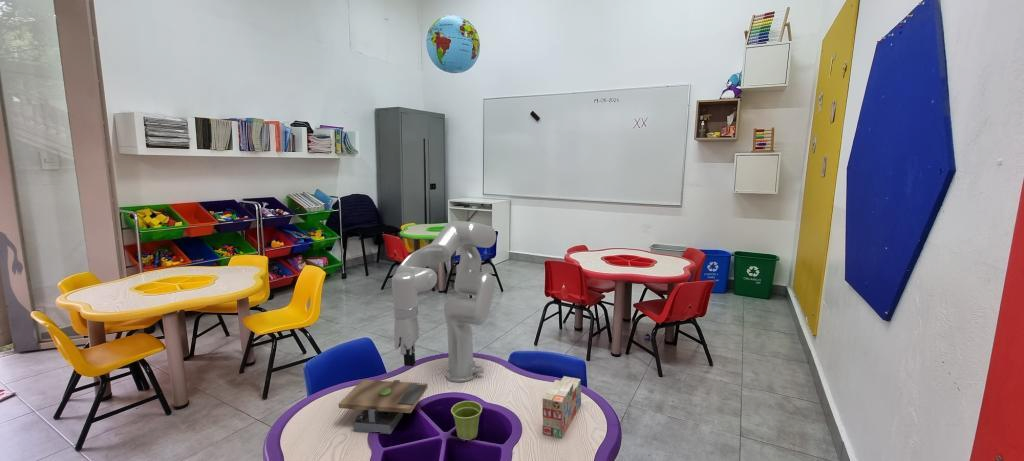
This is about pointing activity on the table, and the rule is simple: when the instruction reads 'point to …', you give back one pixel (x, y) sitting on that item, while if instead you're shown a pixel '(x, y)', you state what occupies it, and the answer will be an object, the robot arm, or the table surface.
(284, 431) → the table surface
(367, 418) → the base
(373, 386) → the plate
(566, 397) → the stack of blocks
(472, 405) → the plant pot
